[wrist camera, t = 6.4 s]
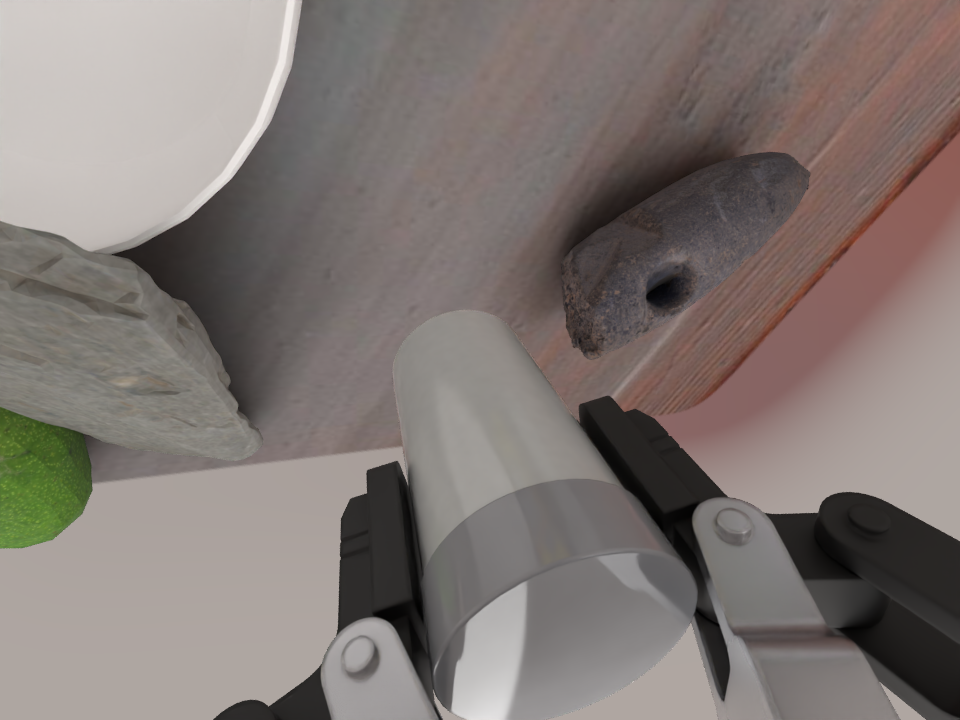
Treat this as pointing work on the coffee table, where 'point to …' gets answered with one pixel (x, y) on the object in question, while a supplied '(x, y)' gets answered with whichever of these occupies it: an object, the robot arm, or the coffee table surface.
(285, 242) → the coffee table surface
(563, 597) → the salt shaker
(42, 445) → the fruit
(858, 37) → the coffee table surface
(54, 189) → the bowl
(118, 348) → the stone
